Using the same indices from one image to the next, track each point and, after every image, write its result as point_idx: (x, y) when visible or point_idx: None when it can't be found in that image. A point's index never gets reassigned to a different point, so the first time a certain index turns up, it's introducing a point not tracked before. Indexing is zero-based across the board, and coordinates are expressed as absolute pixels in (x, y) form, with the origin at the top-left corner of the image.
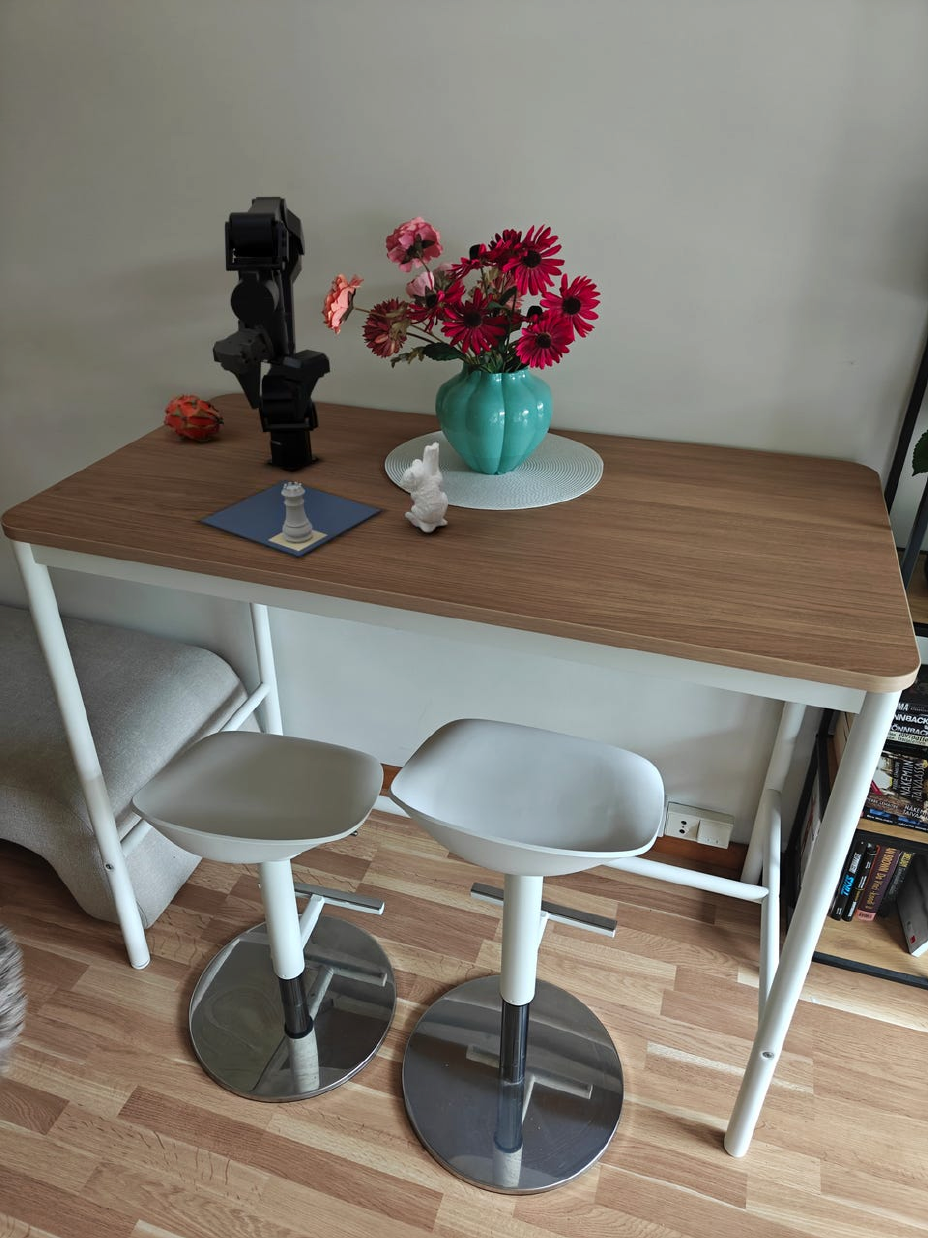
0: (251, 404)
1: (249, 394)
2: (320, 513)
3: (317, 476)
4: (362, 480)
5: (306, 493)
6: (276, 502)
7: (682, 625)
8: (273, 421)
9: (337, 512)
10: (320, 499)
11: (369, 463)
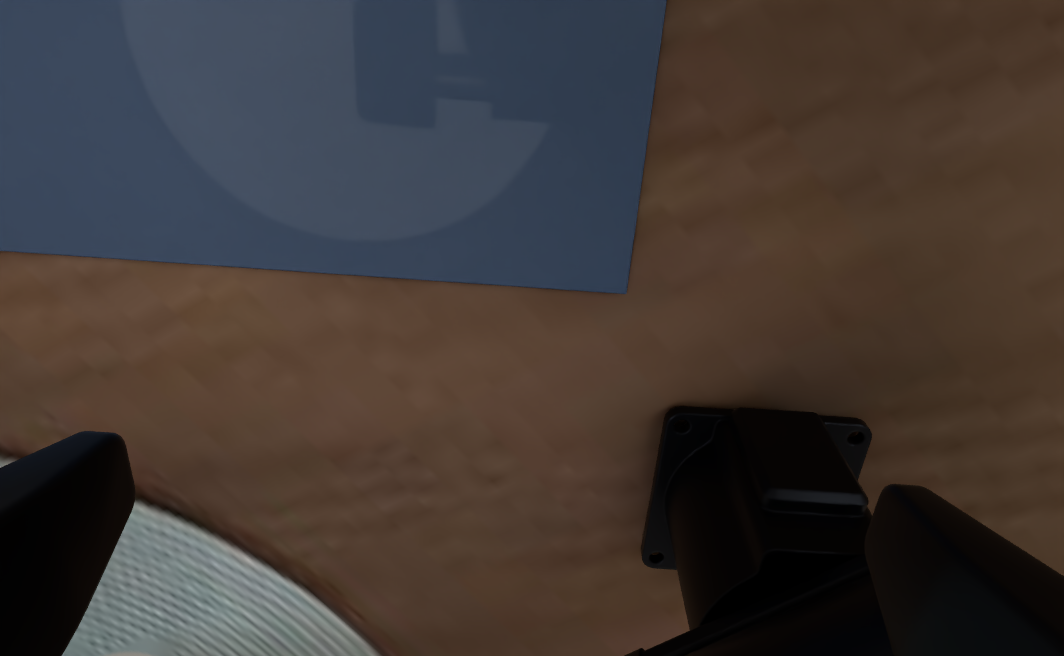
0: (939, 514)
1: (1026, 624)
2: (130, 34)
3: (526, 417)
4: (307, 474)
5: (407, 217)
6: (466, 21)
7: None
8: (838, 591)
9: (69, 99)
10: (282, 191)
11: (416, 613)
